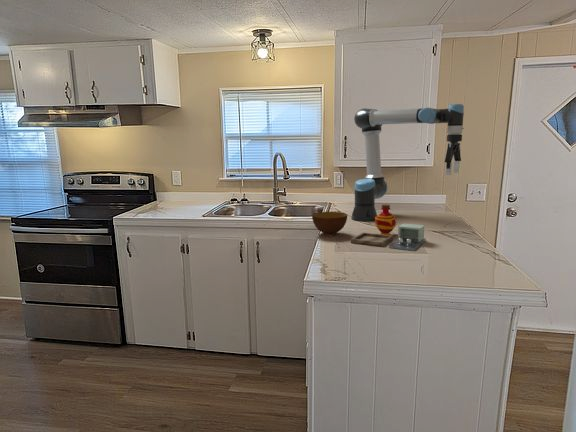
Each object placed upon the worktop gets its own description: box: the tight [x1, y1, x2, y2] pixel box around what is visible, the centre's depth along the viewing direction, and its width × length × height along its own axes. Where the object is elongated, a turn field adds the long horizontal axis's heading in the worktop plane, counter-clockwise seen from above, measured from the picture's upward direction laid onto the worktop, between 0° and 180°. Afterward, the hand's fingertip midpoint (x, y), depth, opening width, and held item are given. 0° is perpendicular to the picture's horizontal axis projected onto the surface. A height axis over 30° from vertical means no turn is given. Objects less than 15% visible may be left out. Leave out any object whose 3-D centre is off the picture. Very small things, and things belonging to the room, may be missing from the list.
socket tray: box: [350, 232, 394, 248], centre depth 189 cm, size 15×15×2 cm
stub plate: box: [388, 237, 427, 252], centre depth 182 cm, size 11×20×4 cm, turn 148°
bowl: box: [311, 211, 348, 236], centre depth 204 cm, size 18×18×10 cm
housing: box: [397, 223, 425, 242], centre depth 186 cm, size 10×7×6 cm
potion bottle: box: [374, 203, 397, 235], centre depth 199 cm, size 10×10×15 cm
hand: (452, 173), depth 220 cm, fingers open, 13 cm apart
